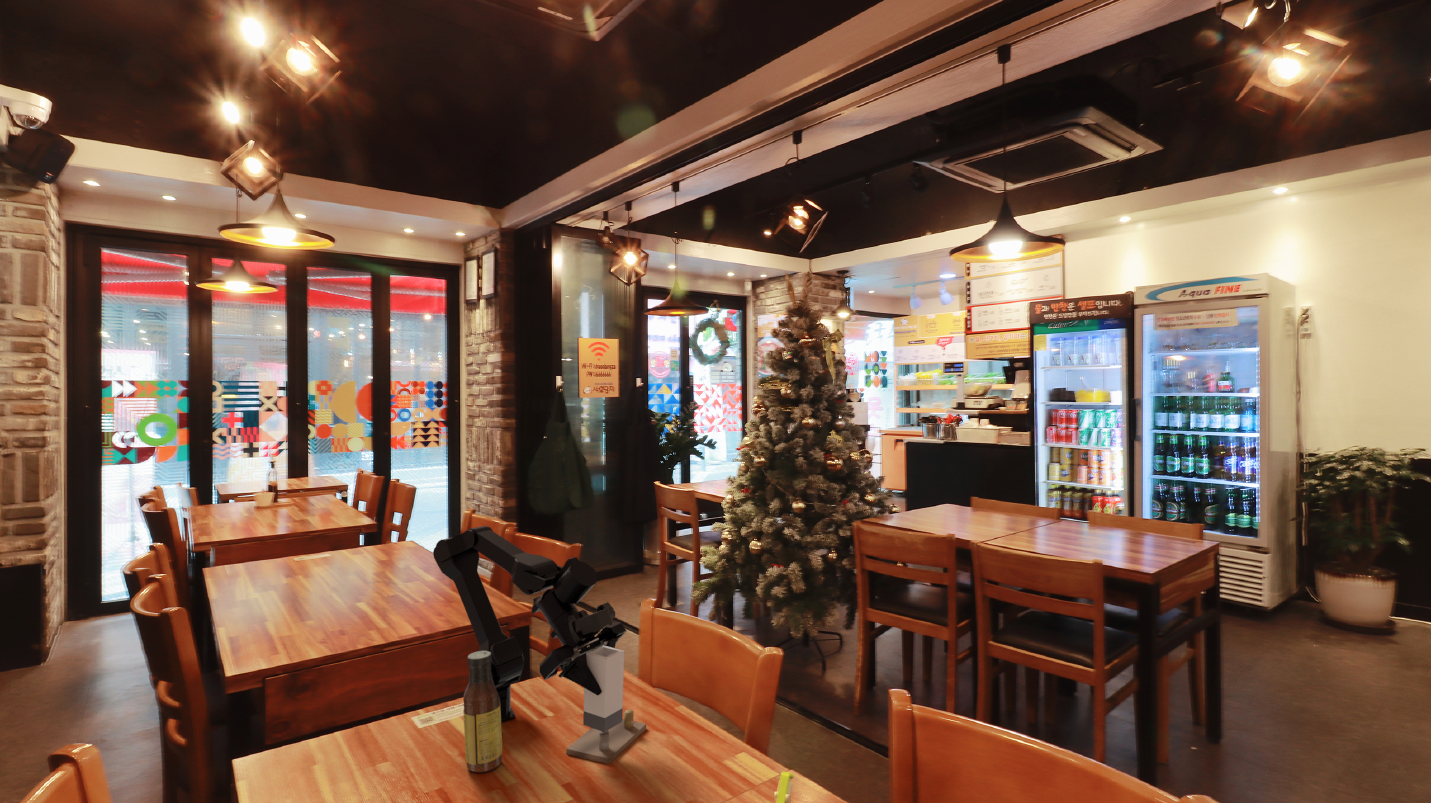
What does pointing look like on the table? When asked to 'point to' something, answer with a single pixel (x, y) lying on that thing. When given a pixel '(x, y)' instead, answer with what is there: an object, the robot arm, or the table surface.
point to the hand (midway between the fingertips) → (609, 688)
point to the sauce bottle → (482, 716)
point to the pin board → (614, 742)
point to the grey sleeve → (605, 689)
